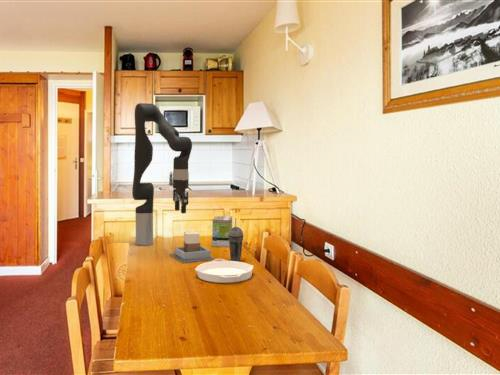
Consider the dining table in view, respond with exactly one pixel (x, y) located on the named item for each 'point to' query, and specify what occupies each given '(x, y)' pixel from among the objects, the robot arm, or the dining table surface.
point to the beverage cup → (235, 243)
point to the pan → (224, 271)
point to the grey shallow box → (192, 255)
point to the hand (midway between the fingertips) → (180, 211)
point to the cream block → (191, 237)
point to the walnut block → (191, 247)
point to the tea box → (221, 231)
